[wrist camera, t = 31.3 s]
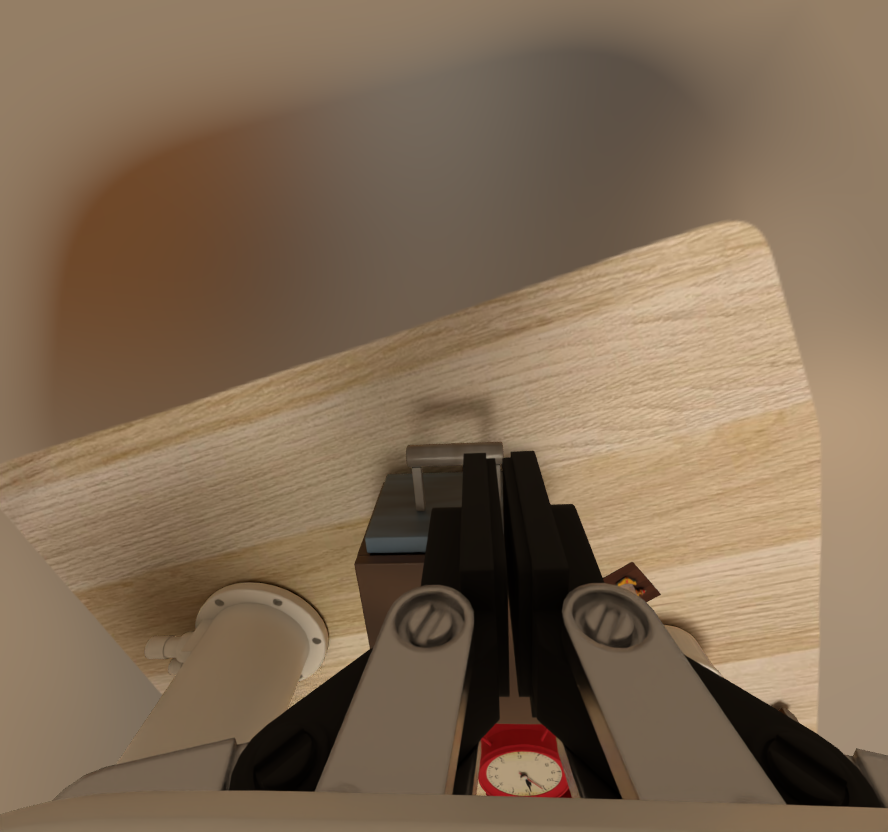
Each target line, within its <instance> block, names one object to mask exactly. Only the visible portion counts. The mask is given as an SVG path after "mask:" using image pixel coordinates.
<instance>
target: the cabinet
mask: <svg viewBox="0 0 888 832" xmlns="http://www.w3.org/2000/svg"><path fill="white" fill-rule="evenodd" d="M384 483H385V482H384ZM384 483H383V485H384ZM382 488H383V486H382ZM382 488H381V491H382ZM381 491H380V493H379V496H378V499H377V502H378V500H379V497H380V494H381ZM377 502H376V505H377ZM376 505H375V507H374V510H373V513H372V516H371V519H372V517H373V514H374V511H375V508H376ZM371 519H370V521H369V524H368V527H367V530H366V533H365V535H364V538H363V541H362V544H361V547H360V549H359V552H358V555H357V558H356V561H355V564H354V565H355V570H356V575H357V581H358V586H359V592H360V597H361V602H362V608H363V613H364V618H365V624H366V629H367V635H368V640H369V645H370V649H371V648H372V647H374V645H375V642H376V640H377V637H378V635H379V632H380V630H381V627H382V625H383V623H384V620H385V618H386V615H387V613H388V611H389V609H390V608H391V606H392V604H393V603H394V602H395V601H396V600H397V599H398V598H399V597H400V596H401V595H402V594H404V593H406V592H408V591H410V590H412V589H413V588H417V587H420V586H421V580H422V573H423V566H424V559H425V555H385V554H386V553H367V548H366V543H365V536H366V534H367V531H368V528H369V525H370V522H371ZM508 624H509V680H510V697H499V706H500V720H499V721H498V722H497V723H496V724H541V723H540V722H539V721H538V720H537V718H532V713H531V705H530V697H519V694H518V686H517V676H516V667H515V657H514V647H513V638H512V628H511V618H510V609H509V599H508Z"/></svg>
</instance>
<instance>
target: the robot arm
mask: <svg viewBox="0 0 888 832" xmlns="http://www.w3.org/2000/svg"><path fill="white" fill-rule="evenodd" d="M502 478H503V525H502V515H501V506H500V497H499V488H498V479H497V470H496V461H495V458H487V459H486V453H464V455H463V483H462V507H440V508H432V511H431V517H430V524H429V531H428V538H427V545H426V552H425V559H424V566H423V573H422V580H421V586H420V587H417V588H413V589H412V590H410V591H408V592H406V593H404V594H402V595H401V596H400V597H399V598H398V599H397V600H396V601H395V602H394V603H393V604H392V606H391V608H390V609H389V611H388V613H387V615H386V618H385V620H384V623H383V625H382V627H381V630H380V632H379V635H378V637H377V640H376V642H375V645H374V647H372V648H371V649H370V650H368V651H367V652H366V653H364V654H363V655H361V656H360V657H359V658H357V659H356V660H355V661H353V662H352V663H351V664H349V665H348V666H346V667H345V668H344V669H342V670H341V671H340V672H338V673H337V674H336V675H334V676H333V677H331V678H330V679H329V680H327V681H326V682H325V683H323V684H322V685H321V686H319V687H318V688H316V689H315V690H314V691H312V692H311V693H310V694H308V695H307V696H306V697H304V698H303V699H301V700H300V701H299V702H297V703H296V704H295V705H293V706H292V707H291V708H289V709H288V707H289V704H290V701H291V699H292V696H293V694H294V691H295V689H296V686H297V683H298V682H299V681H302V680H304V679H306V678H308V677H309V676H311V675H312V674H314V673H315V672H316V671H317V670H318V669H319V668H320V666H321V664H322V662H323V661H324V658H325V655H326V652H327V649H328V641H329V639H328V633H327V629H326V627H325V624H324V622H323V620H322V619H321V617H320V616H319V614H318V613H317V612H316V611H315V610H314V609H313V608H312V607H311V606H310V605H309V604H308V603H307V602H306V601H304V600H303V599H302V598H300V597H299V596H297V595H295V594H293V593H291V592H290V591H288V590H285V589H282V588H280V587H277V586H273V585H269V584H264V583H252V582H247V583H236V584H233V585H229V586H226V587H224V588H222V589H220V590H218V591H216V592H215V593H213V594H212V595H211V596H210V597H209V598H208V599H207V601H206V602H205V603H204V604H203V606H202V607H201V609H200V611H199V613H198V614H197V618H196V623H195V627H196V630H195V631H194V632H187V633H184V635H183V636H182V637H175V636H172V635H154V636H153V637H151V638H150V639H149V640H148V642H147V644H146V646H145V652H144V653H145V657H146V658H148V659H168V658H173V659H172V660H171V661H170V663H169V666H168V673H169V674H170V675H176V676H175V677H174V679H173V680H172V682H171V683H170V685H169V686H168V688H167V689H166V691H165V692H164V694H163V695H162V697H161V698H160V700H159V701H158V703H157V704H156V706H155V707H154V709H153V710H152V712H151V713H150V714H149V716H148V717H147V719H146V720H145V722H144V723H143V725H142V726H141V728H140V729H139V731H138V732H137V734H136V735H135V737H134V738H133V740H132V741H131V743H130V744H129V746H128V747H127V749H126V750H125V752H124V753H123V755H122V756H121V757H120V759H119V760H118V762H117V763H116V765H112V766H108V767H104V768H101V769H99V770H97V771H94V772H91V773H89V774H86V775H84V776H83V777H81V778H80V779H78V780H77V781H76V782H74V783H73V784H71V785H69V786H68V787H67V788H65V789H64V790H63V791H62V792H61V793H59V795H57V796H56V797H55V798H54V799H53V800H52V801H49V802H45V803H41V804H37V805H33V806H29V807H25V808H21V809H17V810H14V811H10V812H7V813H3V814H0V832H888V756H887V755H883V754H879V753H874V752H870V751H865V750H860V749H856V751H855V753H854V755H853V756H849V755H844V754H843V753H842V752H841V751H840V750H839V749H838V748H836V747H834V745H832V744H831V743H829V742H828V741H826V740H825V739H824V738H822V737H821V736H819V735H818V734H817V733H815V732H813V731H812V730H810V729H808V728H807V727H805V726H803V725H802V724H800V723H798V722H797V721H795V720H793V719H792V718H790V717H788V716H787V715H785V714H783V713H781V712H780V711H778V710H776V709H775V708H773V707H771V706H770V705H768V704H766V703H765V702H763V701H761V700H760V699H758V698H756V697H755V696H753V695H751V694H750V693H748V692H746V691H745V690H743V689H741V688H740V687H738V686H736V685H735V684H733V683H731V682H730V681H728V680H726V679H724V678H723V677H721V676H719V675H718V674H716V673H714V672H713V671H711V670H709V669H708V668H706V667H704V666H703V665H701V664H699V663H698V662H696V661H694V660H693V659H691V658H689V657H688V656H686V655H684V654H683V653H682V651H681V650H680V648H679V647H678V645H677V644H676V642H675V641H674V639H673V638H672V637H671V635H670V634H669V632H668V631H667V629H666V628H665V626H664V625H663V623H662V622H661V620H660V619H659V618H658V616H657V615H656V613H655V612H654V610H653V609H652V608H651V607H650V606H649V605H648V604H647V603H646V602H645V600H643V599H642V598H640V597H639V596H638V595H636V594H635V593H633V592H632V591H629V590H627V589H624V588H622V587H620V586H616V585H612V584H607V583H604V580H603V578H602V575H601V572H600V570H599V567H598V565H597V562H596V560H595V557H594V554H593V552H592V549H591V547H590V544H589V541H588V539H587V536H586V534H585V531H584V528H583V526H582V523H581V521H580V518H579V516H578V513H577V510H576V508H575V506H574V505H573V504H558V505H550V502H549V499H548V495H547V492H546V489H545V485H544V482H543V478H542V475H541V472H540V468H539V465H538V462H537V458H536V455H535V452H534V451H518V452H511V458H502ZM503 526H504V534H503ZM508 599H509V609H510V618H511V628H512V638H513V647H514V657H515V667H516V676H517V686H518V694H519V697H530V705H531V713H532V718H537V720H538V721H539V722H540V723H541V724H542V725H544V726H545V727H546V728H547V729H548V730H549V731H550V732H551V733H552V734H553V735H555V736H556V742H557V748H558V754H559V757H560V760H561V763H562V767H563V770H564V773H565V776H566V780H567V783H568V786H569V789H570V793H571V796H572V798H551V797H513V796H476V793H477V784H478V776H479V767H480V759H481V739H482V738H483V737H484V736H485V735H486V734H487V733H488V732H489V730H490V729H491V728H492V727H493V726H494V725H495V724H496V723H497V722H498V721H499V720H500V706H499V697H510V680H509V624H508ZM287 709H288V710H287Z"/></svg>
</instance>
